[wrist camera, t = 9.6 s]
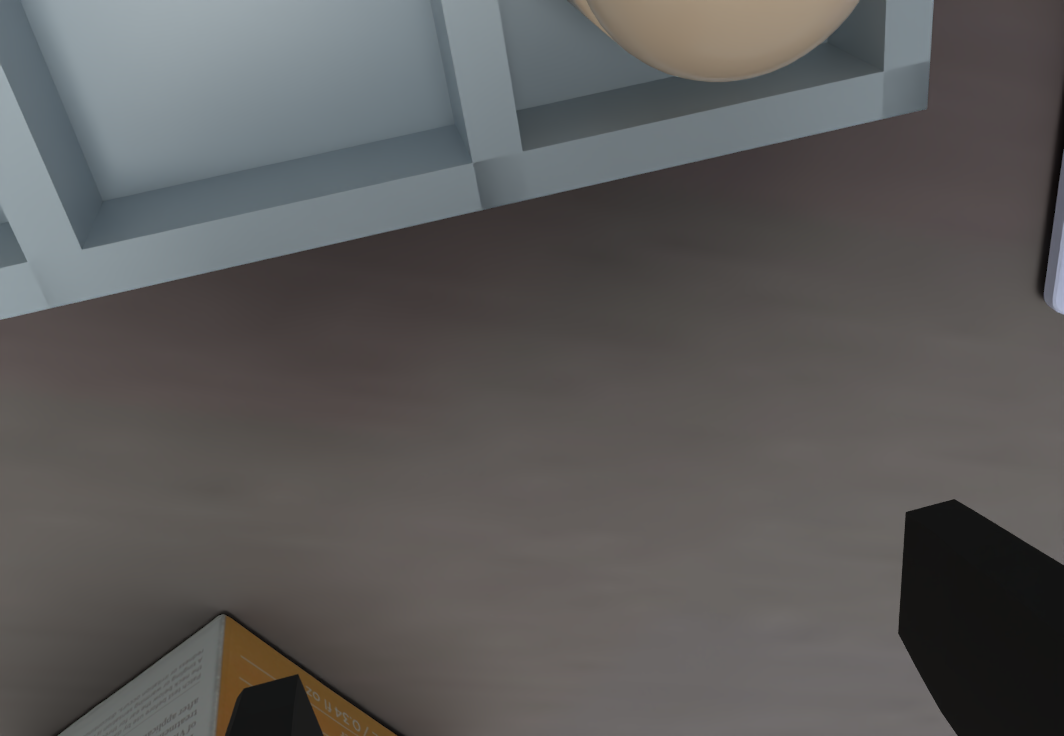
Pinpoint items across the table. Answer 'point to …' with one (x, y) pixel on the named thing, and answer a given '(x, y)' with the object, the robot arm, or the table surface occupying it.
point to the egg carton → (359, 123)
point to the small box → (212, 690)
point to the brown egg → (717, 33)
